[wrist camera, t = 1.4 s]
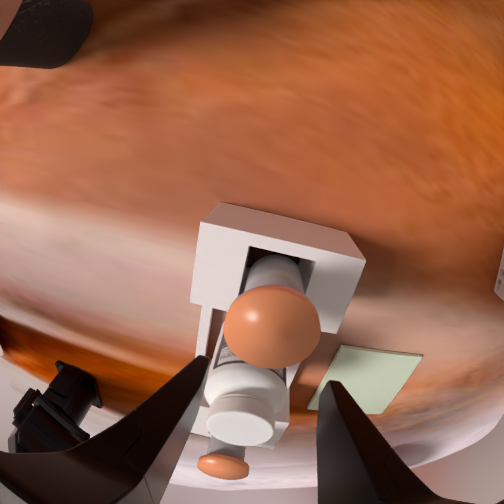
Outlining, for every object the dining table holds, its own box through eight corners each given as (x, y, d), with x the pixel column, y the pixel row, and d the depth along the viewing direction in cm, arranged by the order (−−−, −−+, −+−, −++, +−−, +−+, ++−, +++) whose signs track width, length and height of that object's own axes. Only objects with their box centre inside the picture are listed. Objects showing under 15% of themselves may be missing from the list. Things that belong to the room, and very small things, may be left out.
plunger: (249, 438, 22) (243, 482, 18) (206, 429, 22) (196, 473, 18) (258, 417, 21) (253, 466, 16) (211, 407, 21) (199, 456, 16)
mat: (380, 411, 26) (380, 414, 26) (307, 406, 26) (307, 409, 26) (421, 354, 23) (422, 357, 22) (340, 344, 23) (341, 347, 22)
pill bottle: (267, 364, 24) (259, 458, 15) (212, 341, 24) (182, 433, 15) (298, 322, 22) (304, 422, 13) (237, 294, 22) (211, 391, 13)
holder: (275, 410, 27) (273, 448, 22) (191, 392, 27) (179, 429, 22) (346, 232, 19) (366, 260, 14) (219, 201, 19) (200, 221, 15)
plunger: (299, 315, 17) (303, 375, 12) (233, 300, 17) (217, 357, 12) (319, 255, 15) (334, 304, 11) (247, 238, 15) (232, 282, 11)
